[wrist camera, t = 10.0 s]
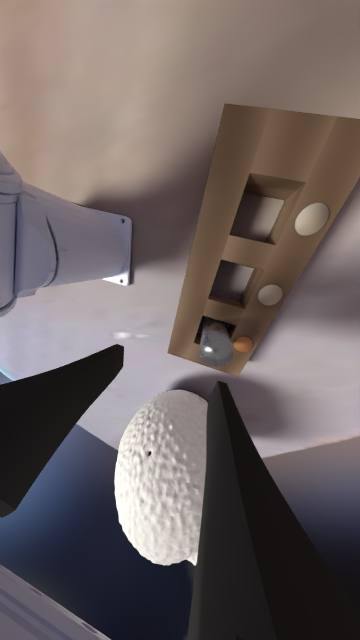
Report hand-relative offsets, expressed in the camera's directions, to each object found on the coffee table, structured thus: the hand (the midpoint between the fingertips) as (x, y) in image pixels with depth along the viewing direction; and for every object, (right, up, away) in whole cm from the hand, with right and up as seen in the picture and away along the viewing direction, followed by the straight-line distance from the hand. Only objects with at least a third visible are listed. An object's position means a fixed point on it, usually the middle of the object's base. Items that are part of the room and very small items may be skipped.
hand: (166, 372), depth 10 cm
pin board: (+7, +8, +6) cm, 13 cm away
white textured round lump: (+3, -13, +17) cm, 21 cm away
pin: (+6, +3, +9) cm, 11 cm away
